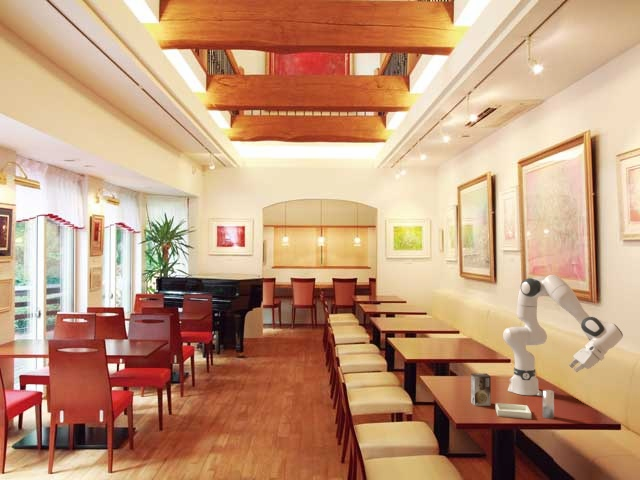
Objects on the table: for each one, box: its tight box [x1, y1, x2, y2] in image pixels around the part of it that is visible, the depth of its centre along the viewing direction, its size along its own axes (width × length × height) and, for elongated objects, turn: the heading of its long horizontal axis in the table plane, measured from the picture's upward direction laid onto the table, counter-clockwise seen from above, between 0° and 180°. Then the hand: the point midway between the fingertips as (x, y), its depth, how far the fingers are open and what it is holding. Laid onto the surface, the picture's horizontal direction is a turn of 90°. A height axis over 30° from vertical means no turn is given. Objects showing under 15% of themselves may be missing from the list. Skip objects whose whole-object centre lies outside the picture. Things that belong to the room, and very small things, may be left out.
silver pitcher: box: [535, 389, 555, 420], centre depth 258 cm, size 5×8×13 cm, turn 76°
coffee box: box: [470, 372, 492, 407], centre depth 278 cm, size 9×6×16 cm
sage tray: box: [494, 402, 532, 420], centre depth 262 cm, size 13×16×3 cm
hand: (572, 368), depth 255 cm, fingers open, 8 cm apart
